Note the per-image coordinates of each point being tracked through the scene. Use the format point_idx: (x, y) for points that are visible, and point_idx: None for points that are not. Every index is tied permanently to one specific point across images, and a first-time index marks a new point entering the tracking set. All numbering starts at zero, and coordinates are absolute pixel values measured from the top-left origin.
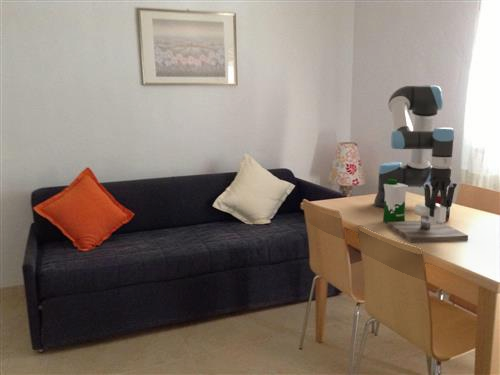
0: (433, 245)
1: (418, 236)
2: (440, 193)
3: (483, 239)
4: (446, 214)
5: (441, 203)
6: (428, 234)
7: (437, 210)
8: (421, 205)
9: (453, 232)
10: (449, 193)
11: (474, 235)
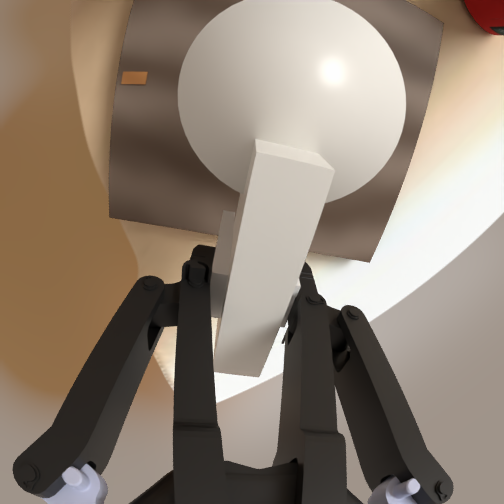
0: (187, 256)
1: (149, 205)
2: (299, 410)
3: (414, 260)
4: (501, 30)
5: (297, 325)
6: (214, 193)
7: (219, 322)
8: (251, 65)
9: (355, 209)
10: (362, 428)
11: (432, 215)
